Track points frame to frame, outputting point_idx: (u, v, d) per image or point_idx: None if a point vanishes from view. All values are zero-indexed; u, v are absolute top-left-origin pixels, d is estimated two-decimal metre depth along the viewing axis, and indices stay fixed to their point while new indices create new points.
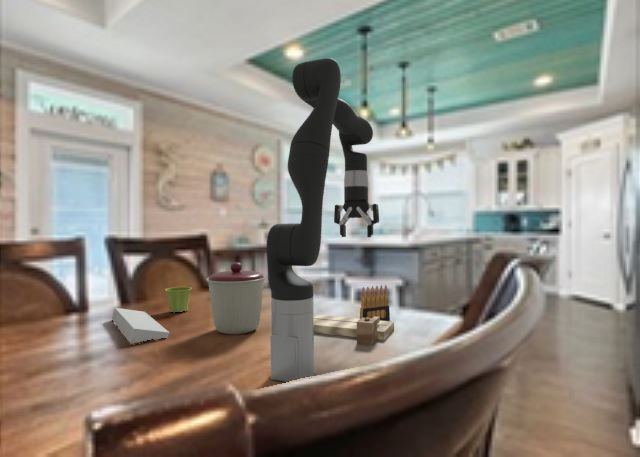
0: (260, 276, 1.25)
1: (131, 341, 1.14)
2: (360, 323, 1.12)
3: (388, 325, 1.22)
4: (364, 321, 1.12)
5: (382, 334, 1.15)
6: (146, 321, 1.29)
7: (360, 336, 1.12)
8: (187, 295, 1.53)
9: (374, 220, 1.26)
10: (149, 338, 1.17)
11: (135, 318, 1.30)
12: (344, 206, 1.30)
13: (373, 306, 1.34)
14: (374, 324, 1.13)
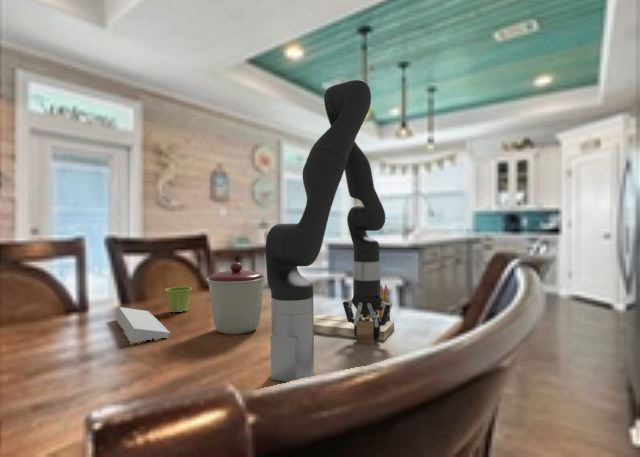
0: (260, 276, 1.25)
1: (131, 341, 1.14)
2: (360, 323, 1.12)
3: (388, 325, 1.22)
4: (364, 321, 1.12)
5: (382, 334, 1.15)
6: (148, 321, 1.30)
7: (360, 336, 1.12)
8: (187, 295, 1.53)
9: (382, 322, 1.11)
10: (149, 338, 1.17)
11: (138, 318, 1.31)
12: (353, 301, 1.14)
13: None
14: None
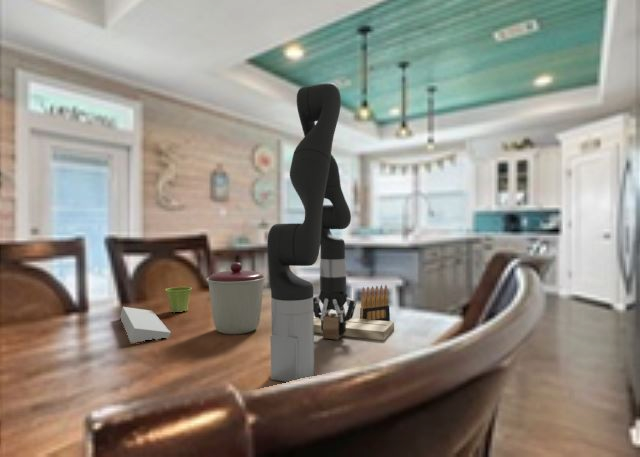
0: (260, 276, 1.25)
1: (132, 341, 1.14)
2: (326, 318, 1.16)
3: (388, 325, 1.22)
4: (330, 316, 1.17)
5: (382, 334, 1.15)
6: (150, 320, 1.30)
7: (326, 331, 1.16)
8: (187, 295, 1.53)
9: (346, 317, 1.15)
10: (150, 338, 1.17)
11: (140, 317, 1.31)
12: (320, 297, 1.18)
13: (373, 306, 1.34)
14: None
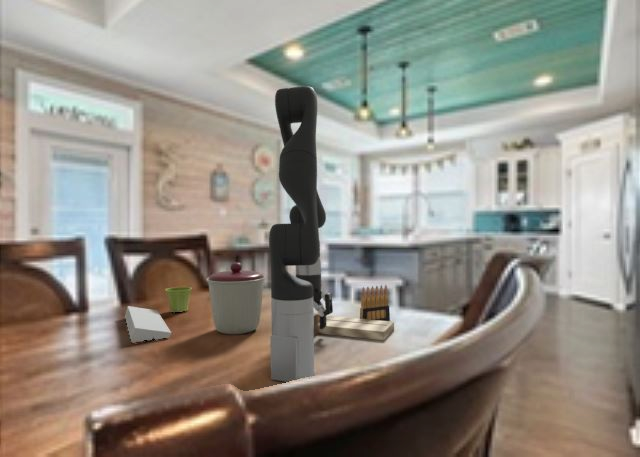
0: (260, 276, 1.25)
1: (132, 340, 1.15)
2: None
3: (388, 325, 1.22)
4: None
5: (382, 334, 1.15)
6: (153, 320, 1.30)
7: None
8: (187, 295, 1.53)
9: (326, 312, 1.17)
10: (150, 338, 1.17)
11: (143, 317, 1.32)
12: None
13: (373, 306, 1.34)
14: (314, 319, 1.20)
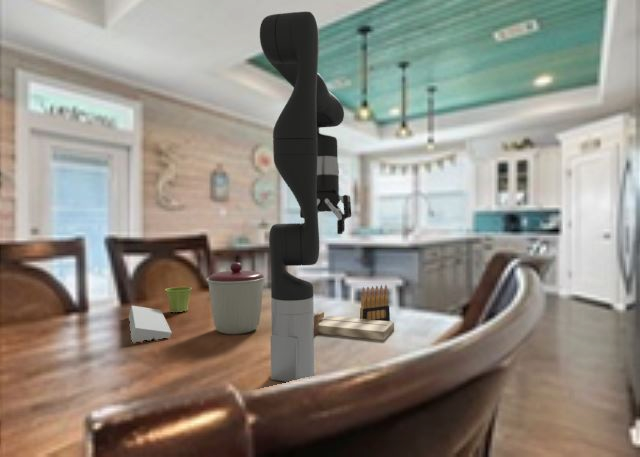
0: (260, 276, 1.25)
1: (133, 340, 1.15)
2: None
3: (388, 325, 1.22)
4: None
5: (382, 334, 1.15)
6: (155, 320, 1.31)
7: None
8: (187, 295, 1.53)
9: (345, 214, 1.09)
10: (151, 338, 1.17)
11: (145, 317, 1.32)
12: None
13: (373, 306, 1.34)
14: (314, 319, 1.20)
